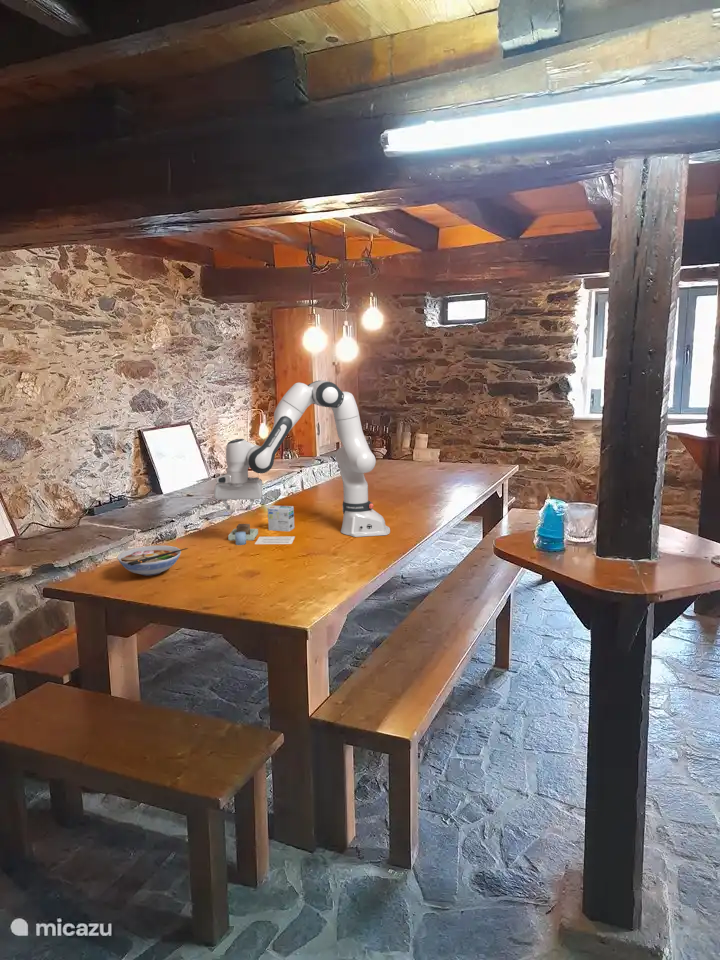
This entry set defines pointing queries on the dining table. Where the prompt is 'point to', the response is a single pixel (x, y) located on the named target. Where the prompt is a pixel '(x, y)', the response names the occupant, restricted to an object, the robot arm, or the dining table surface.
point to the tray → (248, 537)
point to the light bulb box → (281, 518)
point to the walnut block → (243, 528)
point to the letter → (275, 540)
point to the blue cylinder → (240, 538)
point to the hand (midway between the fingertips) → (239, 509)
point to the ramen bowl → (149, 559)
